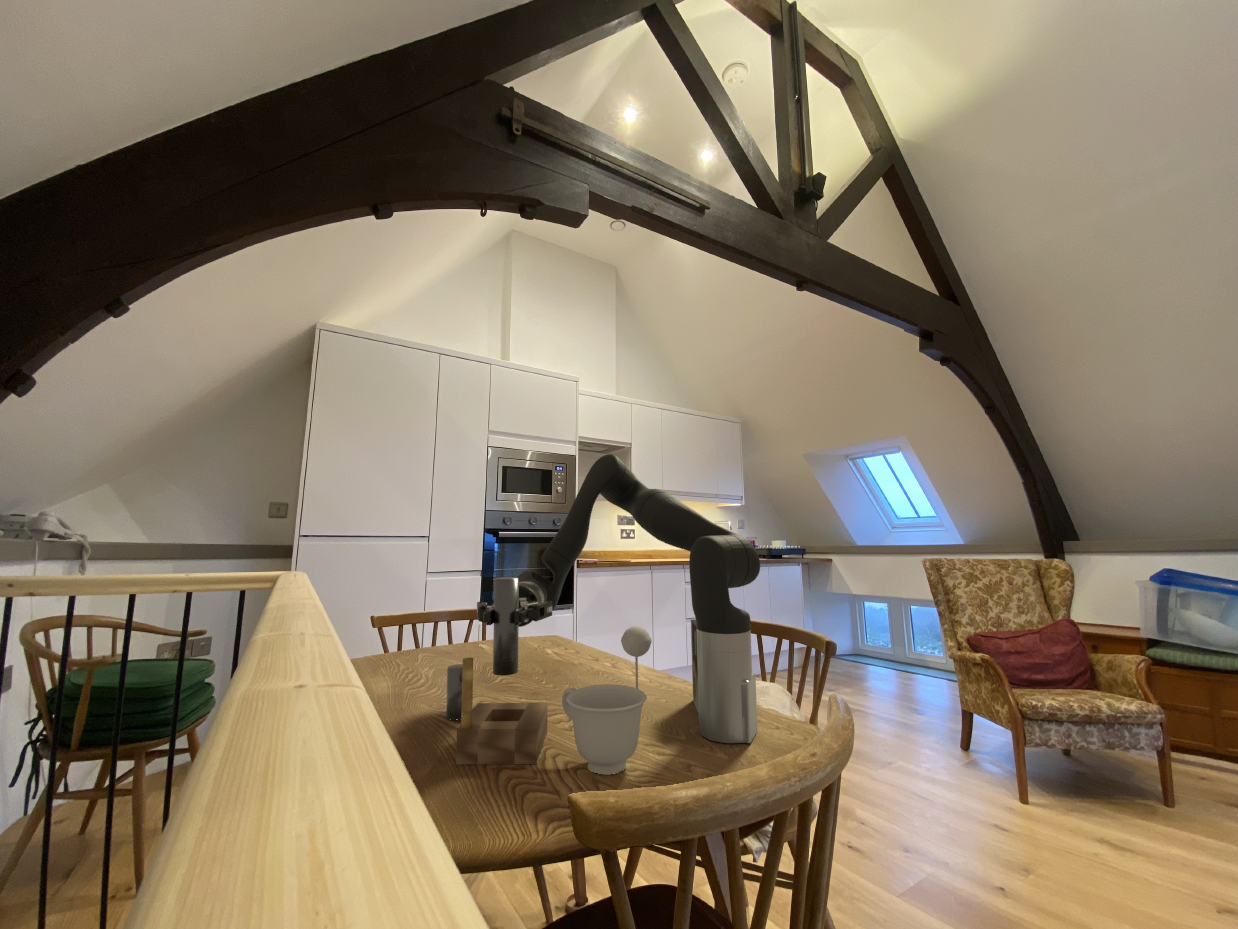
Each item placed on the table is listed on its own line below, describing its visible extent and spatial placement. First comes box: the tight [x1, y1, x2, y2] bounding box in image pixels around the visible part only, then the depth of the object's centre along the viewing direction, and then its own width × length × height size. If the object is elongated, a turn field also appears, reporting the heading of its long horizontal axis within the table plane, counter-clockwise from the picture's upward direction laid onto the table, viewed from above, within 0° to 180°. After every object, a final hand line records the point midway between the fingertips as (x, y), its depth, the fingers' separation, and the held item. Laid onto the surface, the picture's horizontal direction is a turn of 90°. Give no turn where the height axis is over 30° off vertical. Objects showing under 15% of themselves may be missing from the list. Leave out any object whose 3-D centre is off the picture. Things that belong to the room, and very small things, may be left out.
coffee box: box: [690, 619, 699, 715], centre depth 105 cm, size 9×6×16 cm
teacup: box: [561, 683, 648, 775], centre depth 80 cm, size 12×15×10 cm
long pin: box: [492, 576, 520, 676], centre depth 88 cm, size 4×4×15 cm
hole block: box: [455, 657, 548, 765], centre depth 87 cm, size 12×12×15 cm
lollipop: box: [620, 625, 653, 689], centre depth 107 cm, size 6×6×15 cm
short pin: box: [445, 663, 463, 721], centre depth 101 cm, size 4×4×9 cm
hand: (502, 618), depth 86 cm, fingers closed on long pin, 4 cm apart
